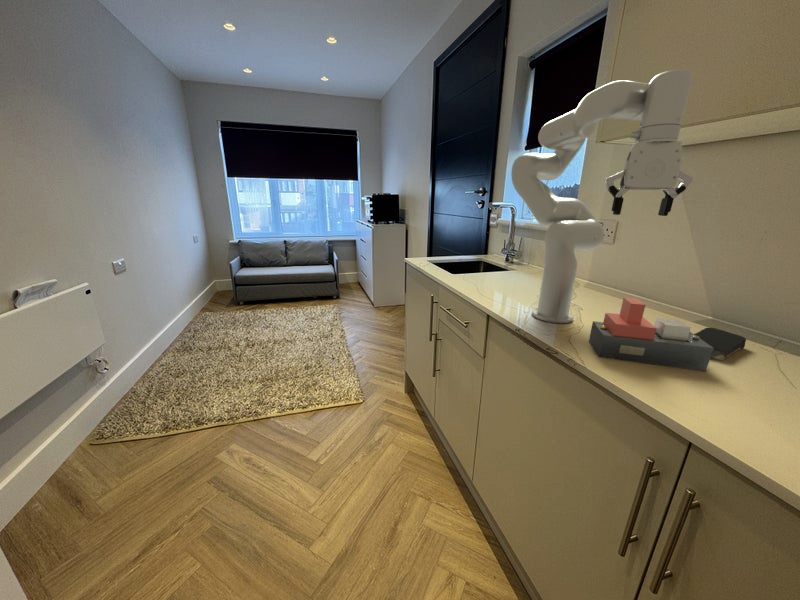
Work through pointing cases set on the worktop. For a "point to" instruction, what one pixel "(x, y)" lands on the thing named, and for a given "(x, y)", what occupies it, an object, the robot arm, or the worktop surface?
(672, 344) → the panel
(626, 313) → the cap
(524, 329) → the worktop surface
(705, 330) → the black sponge
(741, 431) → the worktop surface
